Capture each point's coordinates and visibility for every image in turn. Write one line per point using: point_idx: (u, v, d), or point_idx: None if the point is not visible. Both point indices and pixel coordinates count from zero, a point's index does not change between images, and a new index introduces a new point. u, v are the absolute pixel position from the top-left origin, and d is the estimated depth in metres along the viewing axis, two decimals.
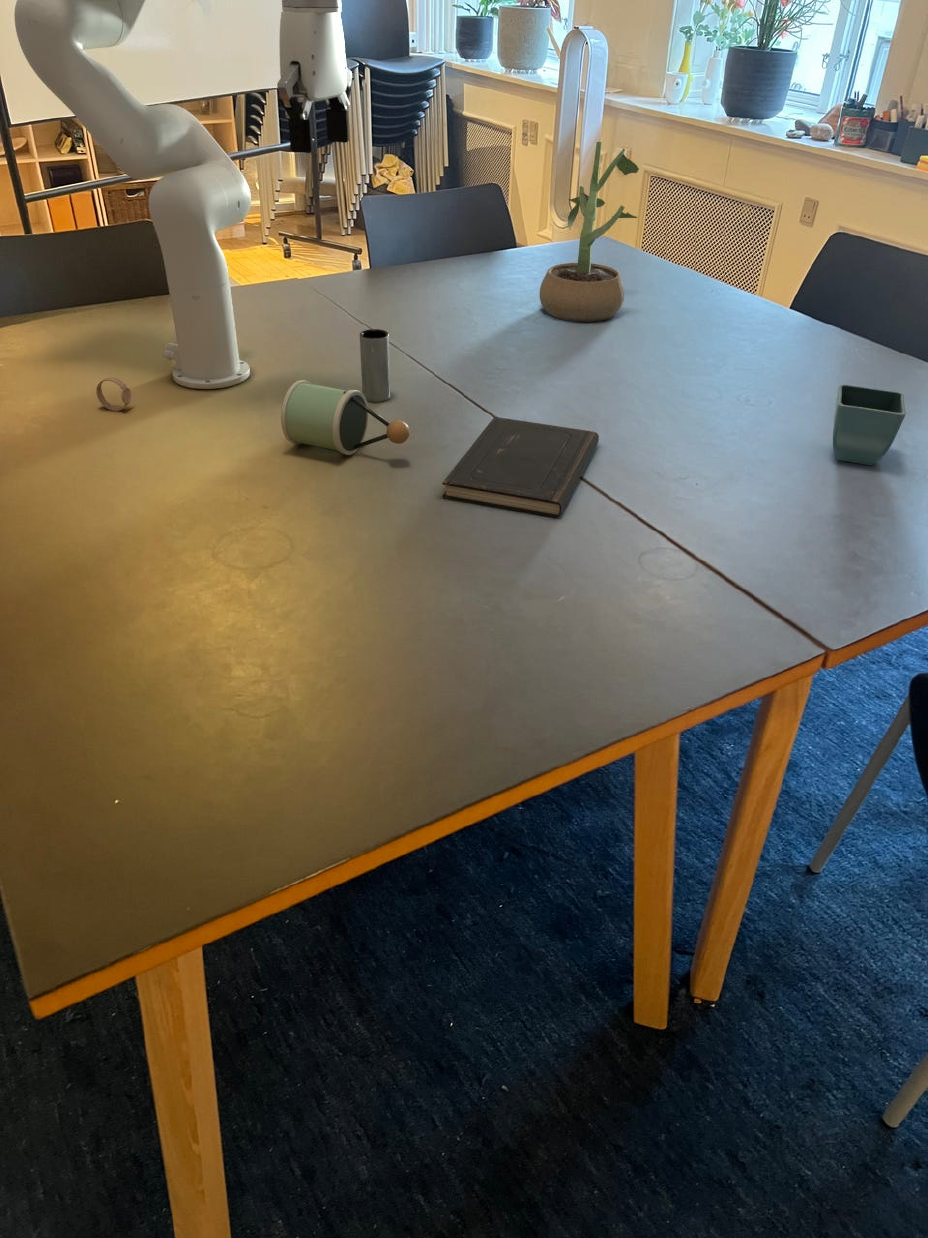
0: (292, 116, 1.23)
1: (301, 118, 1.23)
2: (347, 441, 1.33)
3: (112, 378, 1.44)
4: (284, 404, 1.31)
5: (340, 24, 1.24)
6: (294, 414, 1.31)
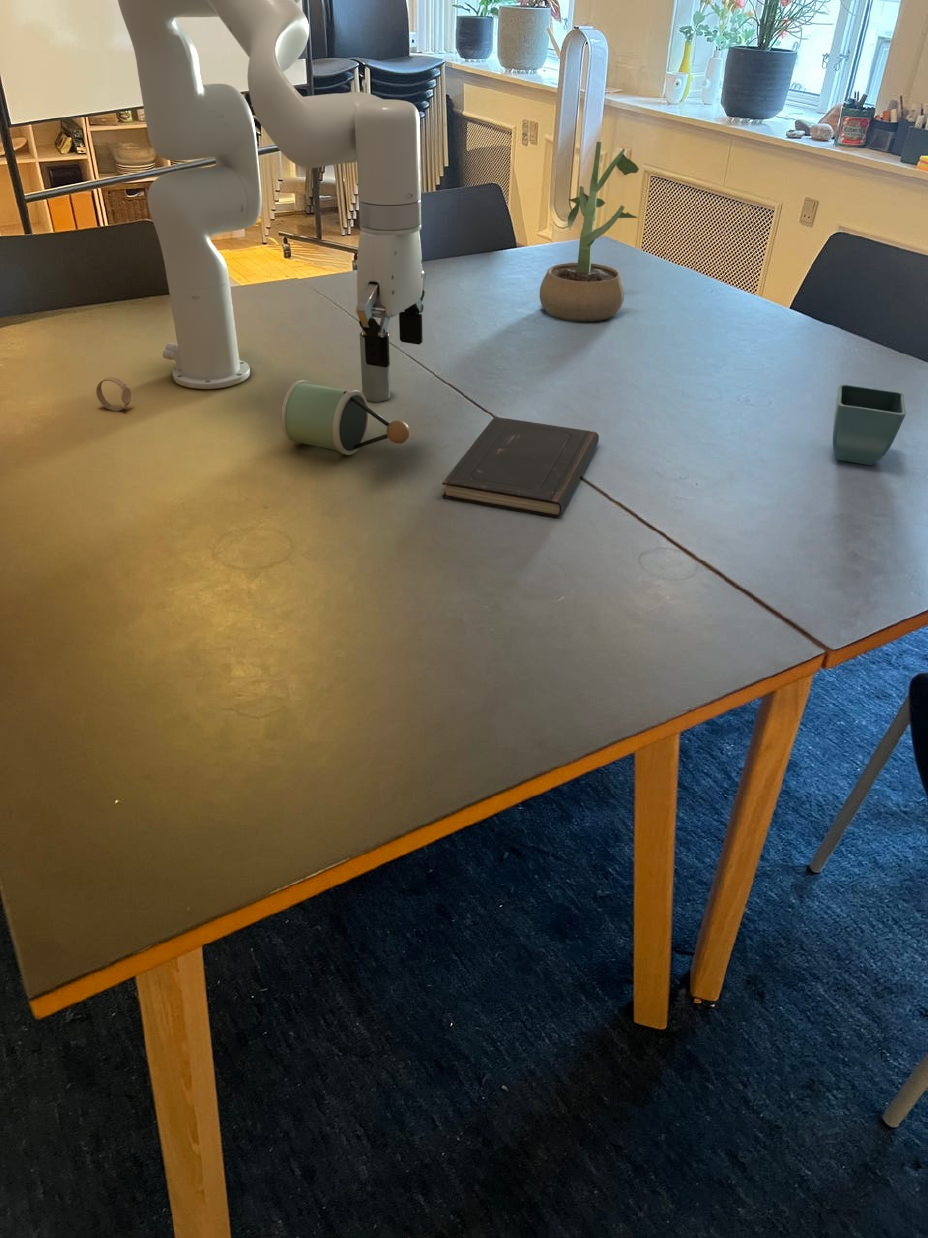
0: (369, 334, 1.18)
1: (379, 336, 1.18)
2: (347, 441, 1.33)
3: (112, 378, 1.44)
4: (284, 404, 1.31)
5: (418, 237, 1.19)
6: (294, 414, 1.31)
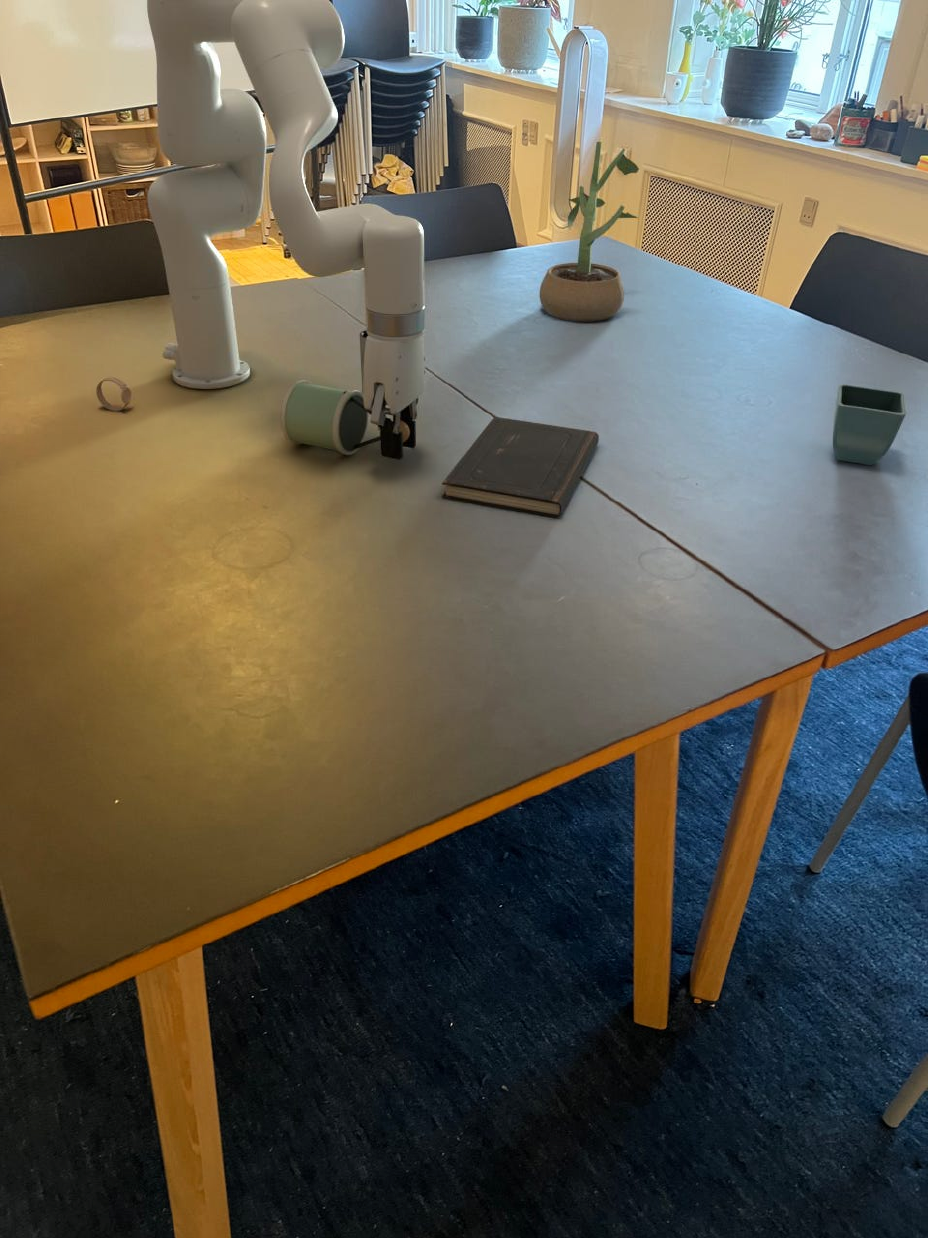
0: (385, 431, 1.28)
1: (393, 433, 1.27)
2: (347, 441, 1.33)
3: (112, 378, 1.44)
4: (284, 404, 1.31)
5: (421, 337, 1.25)
6: (294, 414, 1.31)
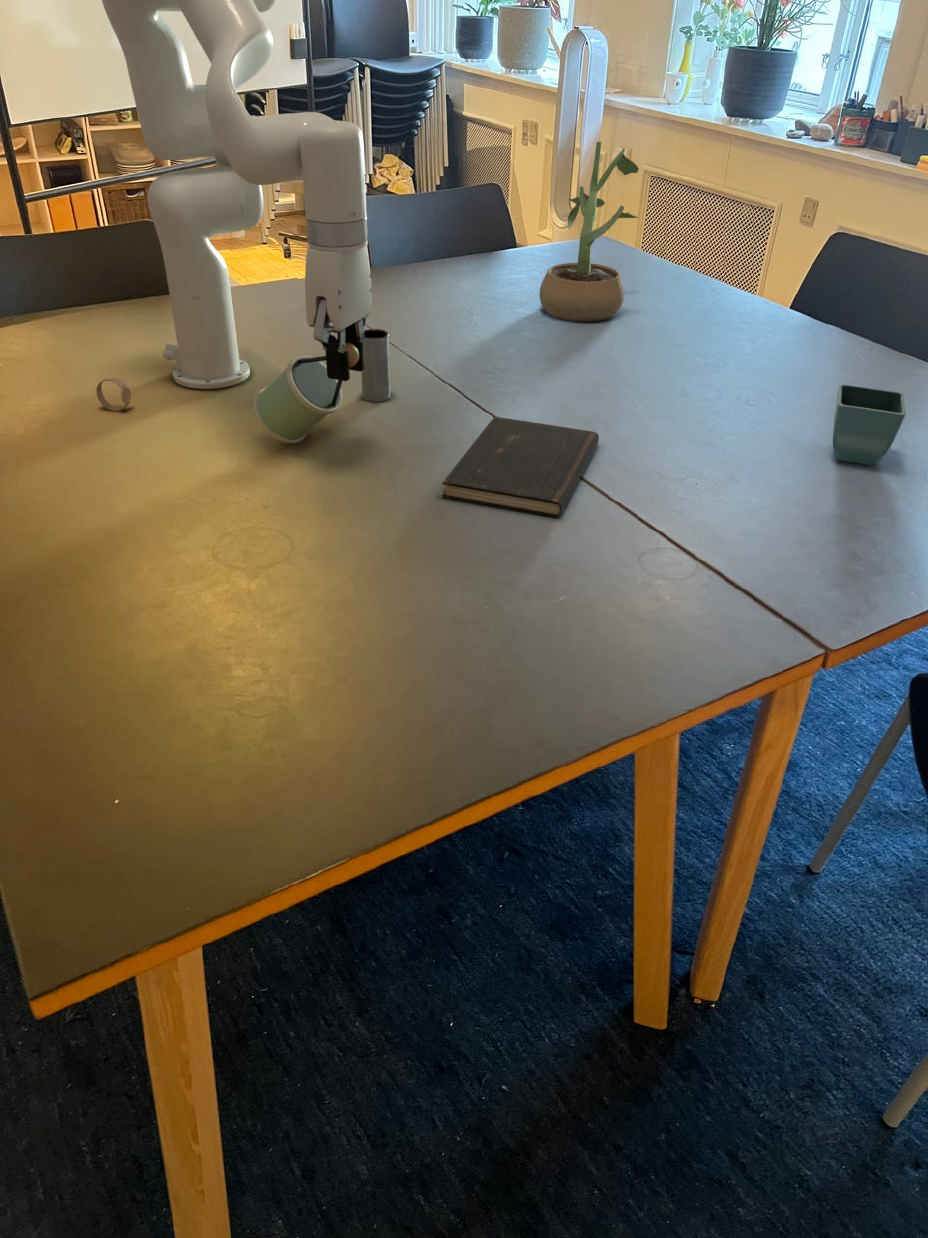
0: (330, 350, 1.24)
1: (339, 352, 1.24)
2: (318, 399, 1.31)
3: (112, 378, 1.44)
4: (255, 410, 1.34)
5: (366, 252, 1.22)
6: (266, 410, 1.33)
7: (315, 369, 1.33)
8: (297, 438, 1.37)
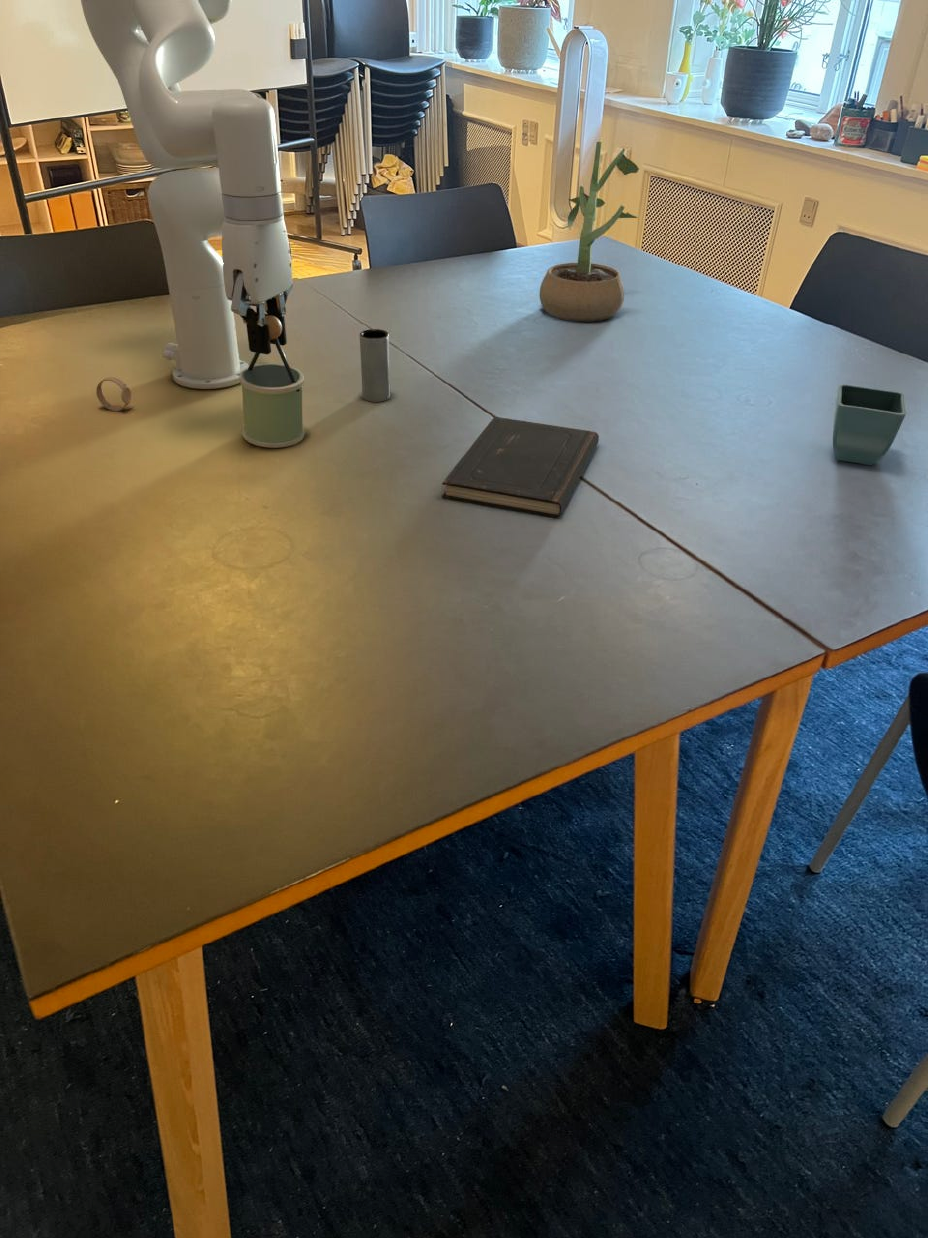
0: (249, 323, 1.27)
1: (258, 325, 1.27)
2: (276, 383, 1.32)
3: (112, 378, 1.44)
4: (244, 436, 1.37)
5: (283, 227, 1.25)
6: (249, 428, 1.36)
7: (268, 369, 1.36)
8: (292, 438, 1.37)
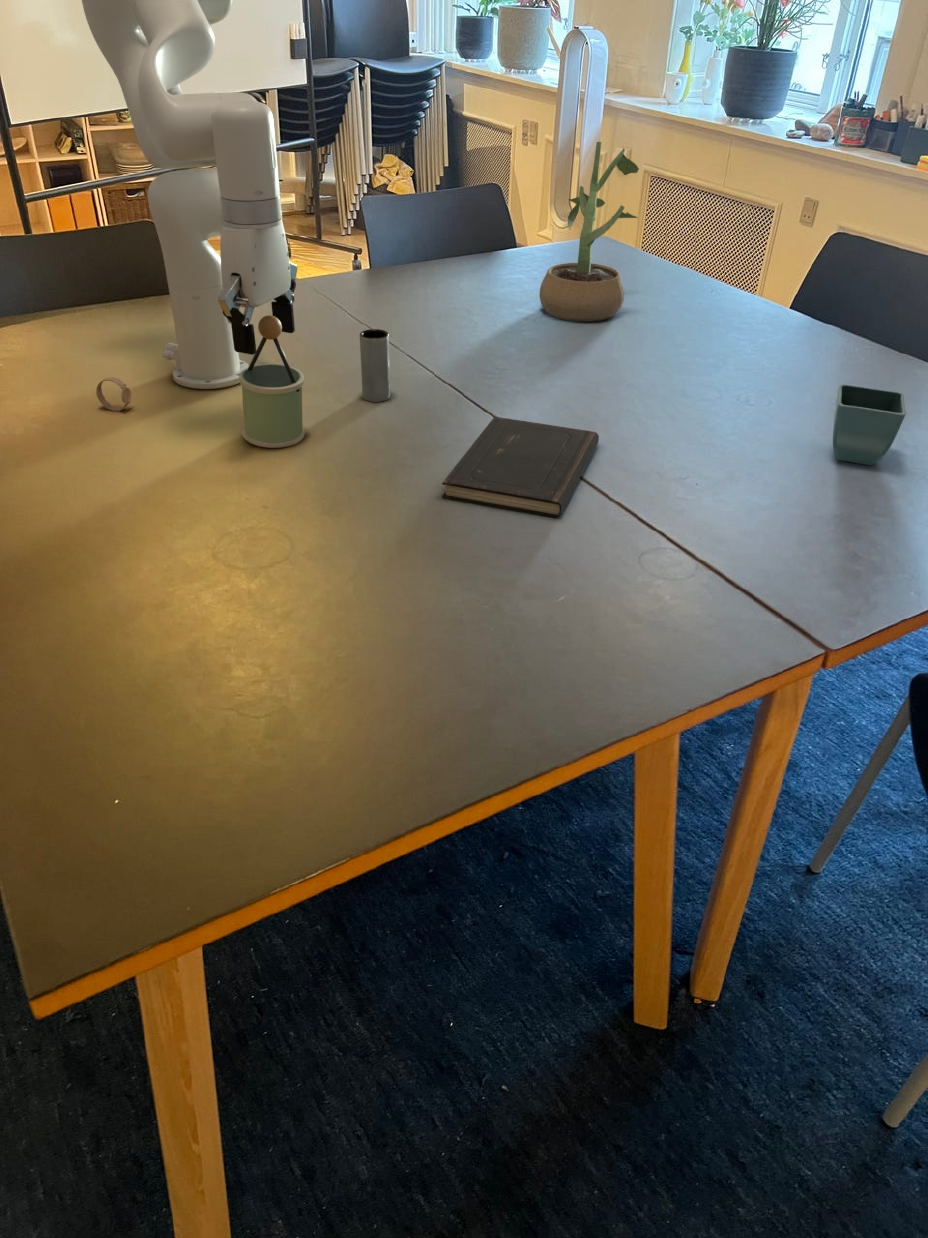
0: (234, 323, 1.25)
1: (243, 325, 1.25)
2: (276, 383, 1.32)
3: (112, 378, 1.44)
4: (244, 436, 1.37)
5: (282, 231, 1.25)
6: (249, 428, 1.36)
7: (268, 369, 1.36)
8: (292, 438, 1.37)
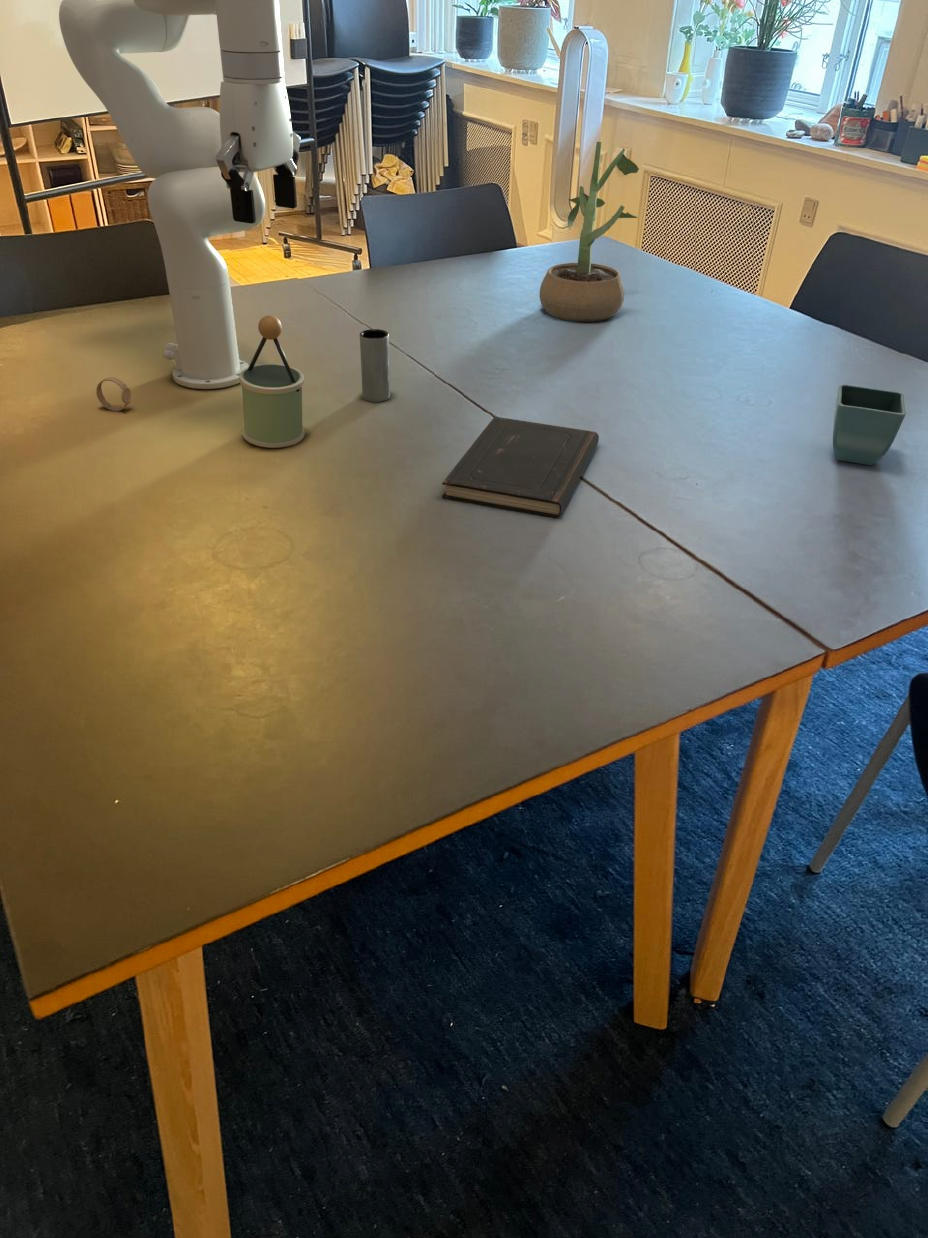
0: (233, 187, 1.20)
1: (242, 189, 1.20)
2: (276, 383, 1.32)
3: (112, 378, 1.44)
4: (244, 436, 1.37)
5: (284, 92, 1.20)
6: (249, 428, 1.36)
7: (268, 369, 1.36)
8: (292, 438, 1.37)
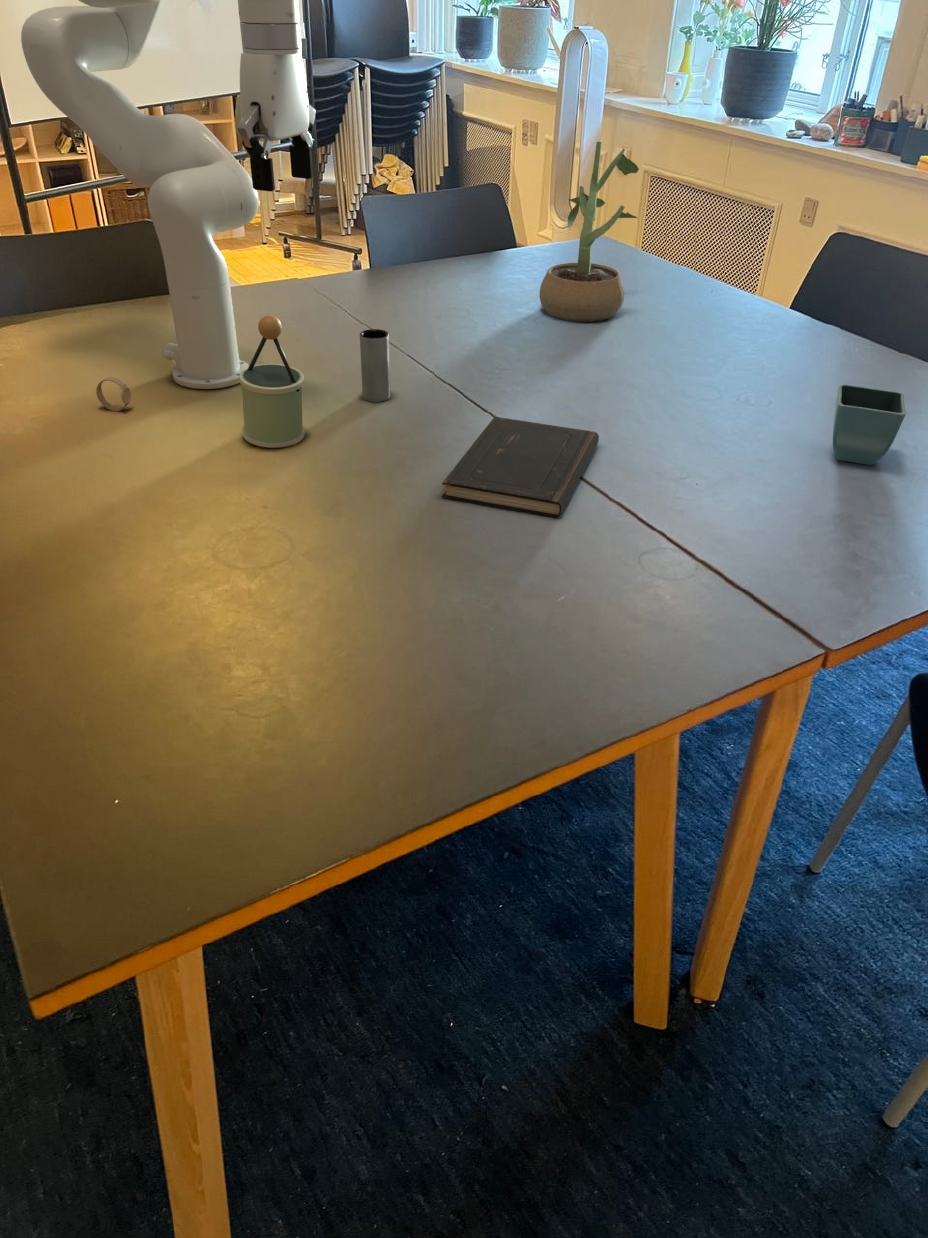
0: (253, 156, 1.24)
1: (262, 158, 1.24)
2: (276, 383, 1.32)
3: (112, 378, 1.44)
4: (244, 436, 1.37)
5: (301, 64, 1.25)
6: (249, 428, 1.36)
7: (268, 369, 1.36)
8: (292, 438, 1.37)
